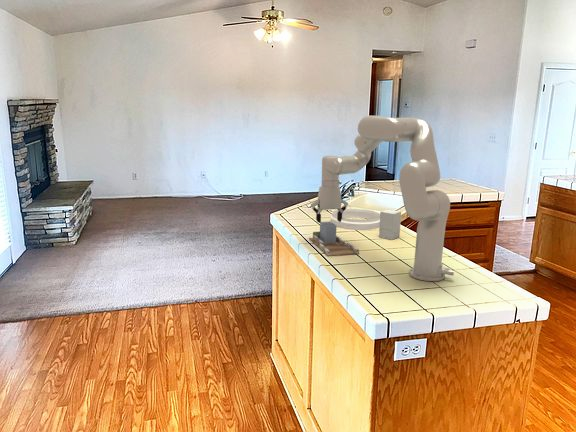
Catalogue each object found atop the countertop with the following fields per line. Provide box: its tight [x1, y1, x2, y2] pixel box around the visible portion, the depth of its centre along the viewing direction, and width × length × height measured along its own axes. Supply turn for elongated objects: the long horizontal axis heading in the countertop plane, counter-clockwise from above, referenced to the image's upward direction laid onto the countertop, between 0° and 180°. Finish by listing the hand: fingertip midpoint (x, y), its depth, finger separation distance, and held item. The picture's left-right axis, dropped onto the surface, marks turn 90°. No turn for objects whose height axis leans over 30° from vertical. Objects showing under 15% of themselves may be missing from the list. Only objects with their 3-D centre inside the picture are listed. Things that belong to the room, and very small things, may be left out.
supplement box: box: [378, 208, 402, 241], centre depth 215 cm, size 7×7×13 cm
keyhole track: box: [308, 230, 360, 257], centre depth 200 cm, size 26×14×3 cm, turn 14°
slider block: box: [319, 221, 338, 244], centre depth 206 cm, size 8×5×8 cm, turn 14°
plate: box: [329, 208, 380, 231], centre depth 241 cm, size 27×27×6 cm
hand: (329, 221), depth 204 cm, fingers open, 9 cm apart
